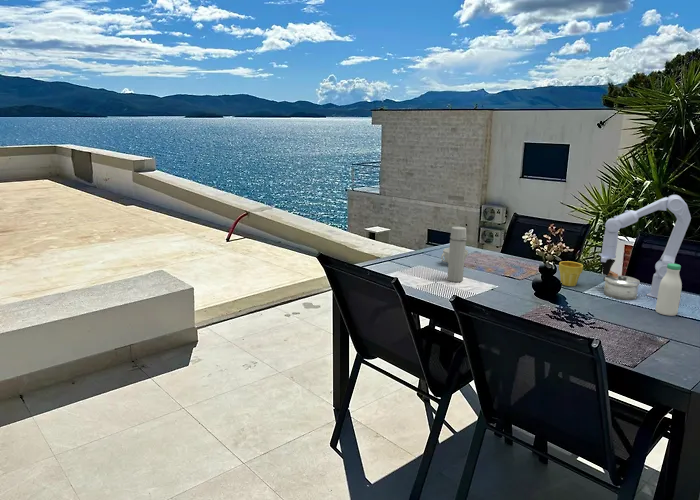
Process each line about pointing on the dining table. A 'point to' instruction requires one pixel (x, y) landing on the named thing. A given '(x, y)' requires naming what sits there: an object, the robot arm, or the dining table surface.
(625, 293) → the cooker pot
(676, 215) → the robot arm
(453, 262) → the water bottle
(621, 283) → the cooker lid
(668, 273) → the milk bottle
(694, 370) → the dining table surface
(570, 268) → the plant pot
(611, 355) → the dining table surface
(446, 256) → the teacup
